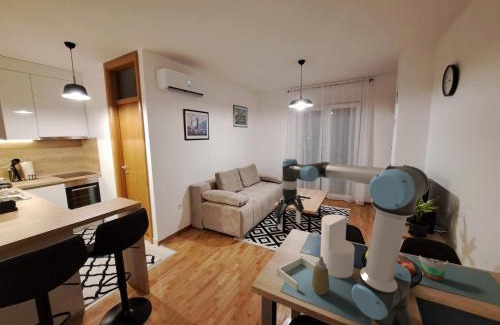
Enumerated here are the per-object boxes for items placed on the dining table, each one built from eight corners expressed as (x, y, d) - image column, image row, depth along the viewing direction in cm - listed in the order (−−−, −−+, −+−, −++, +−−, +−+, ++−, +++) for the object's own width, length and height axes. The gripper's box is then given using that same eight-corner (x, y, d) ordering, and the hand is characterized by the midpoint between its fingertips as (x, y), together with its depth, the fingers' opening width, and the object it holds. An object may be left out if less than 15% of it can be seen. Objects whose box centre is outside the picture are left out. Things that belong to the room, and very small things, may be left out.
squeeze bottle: (330, 298, 96) (331, 263, 93) (312, 296, 97) (313, 261, 95) (327, 286, 104) (328, 252, 101) (310, 284, 105) (311, 251, 103)
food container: (420, 279, 107) (422, 261, 106) (416, 271, 113) (418, 254, 111) (451, 286, 102) (454, 267, 101) (446, 278, 108) (448, 260, 106)
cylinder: (314, 266, 119) (315, 220, 115) (330, 254, 129) (332, 212, 125) (342, 283, 105) (345, 231, 101) (359, 269, 116) (362, 221, 112)
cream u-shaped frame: (321, 275, 111) (321, 268, 110) (296, 291, 101) (296, 283, 100) (301, 262, 123) (301, 256, 122) (277, 275, 112) (277, 268, 112)
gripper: (300, 183, 120) (300, 218, 122) (266, 190, 106) (267, 229, 109) (311, 185, 113) (310, 222, 116) (276, 193, 100) (276, 235, 103)
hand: (289, 225), depth 113 cm, fingers open, 13 cm apart
